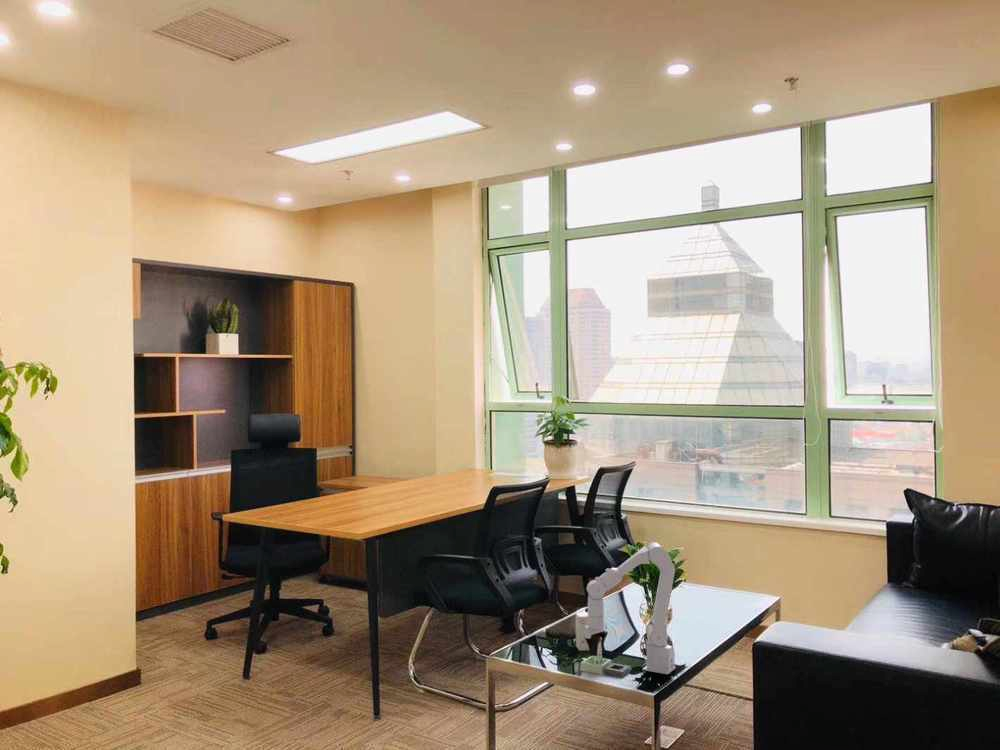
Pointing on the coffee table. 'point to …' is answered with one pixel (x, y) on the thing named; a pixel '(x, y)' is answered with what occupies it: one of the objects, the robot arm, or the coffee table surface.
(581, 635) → the small box
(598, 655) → the lock pin
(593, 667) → the tray
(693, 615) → the coffee table surface
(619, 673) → the block
